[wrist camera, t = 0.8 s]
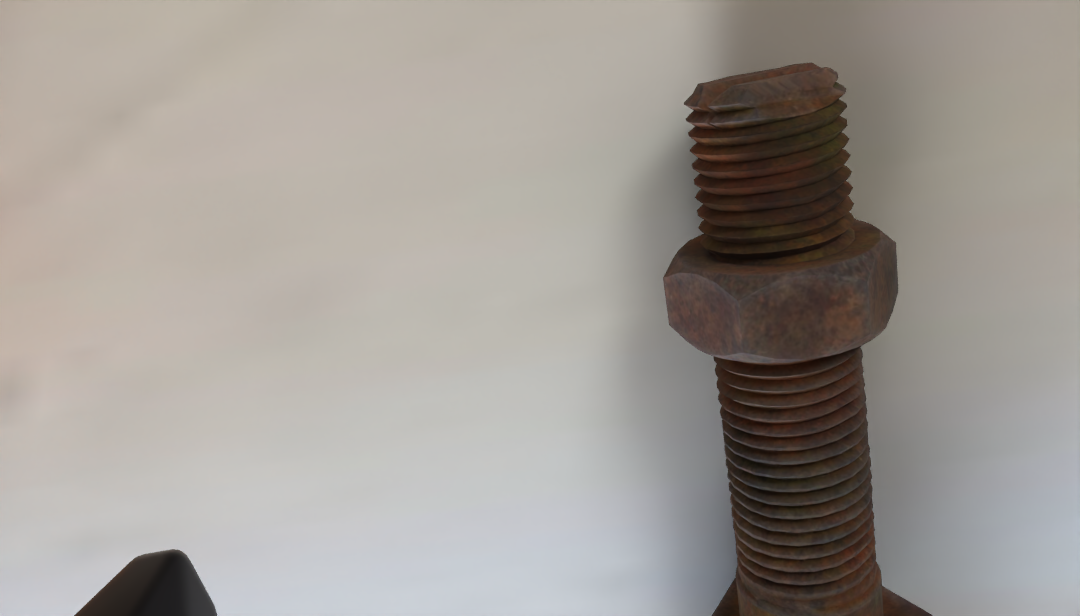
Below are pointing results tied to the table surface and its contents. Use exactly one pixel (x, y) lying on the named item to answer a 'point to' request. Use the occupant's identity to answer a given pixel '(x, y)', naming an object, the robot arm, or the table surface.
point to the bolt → (787, 338)
